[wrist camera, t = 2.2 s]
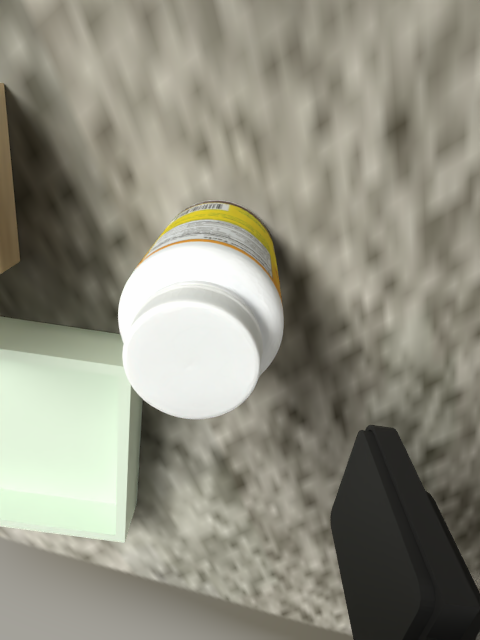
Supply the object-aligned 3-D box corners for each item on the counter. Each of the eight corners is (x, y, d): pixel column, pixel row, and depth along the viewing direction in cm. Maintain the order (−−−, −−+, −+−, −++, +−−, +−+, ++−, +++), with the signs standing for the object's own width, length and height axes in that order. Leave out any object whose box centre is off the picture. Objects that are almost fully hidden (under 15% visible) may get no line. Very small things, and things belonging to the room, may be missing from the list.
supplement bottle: (231, 324, 23) (213, 469, 14) (142, 264, 21) (57, 380, 12) (299, 243, 21) (331, 351, 11) (205, 171, 19) (157, 228, 10)
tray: (146, 337, 23) (131, 367, 21) (136, 502, 29) (124, 542, 27) (-98, 301, 23) (-145, 327, 20) (-57, 476, 29) (-89, 514, 26)
